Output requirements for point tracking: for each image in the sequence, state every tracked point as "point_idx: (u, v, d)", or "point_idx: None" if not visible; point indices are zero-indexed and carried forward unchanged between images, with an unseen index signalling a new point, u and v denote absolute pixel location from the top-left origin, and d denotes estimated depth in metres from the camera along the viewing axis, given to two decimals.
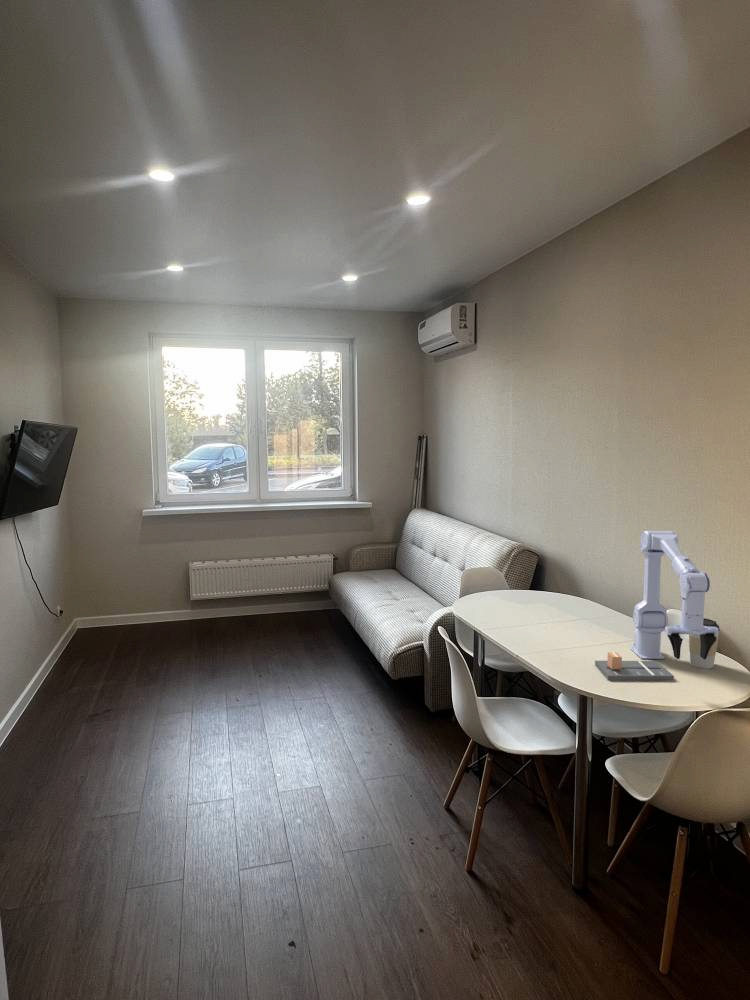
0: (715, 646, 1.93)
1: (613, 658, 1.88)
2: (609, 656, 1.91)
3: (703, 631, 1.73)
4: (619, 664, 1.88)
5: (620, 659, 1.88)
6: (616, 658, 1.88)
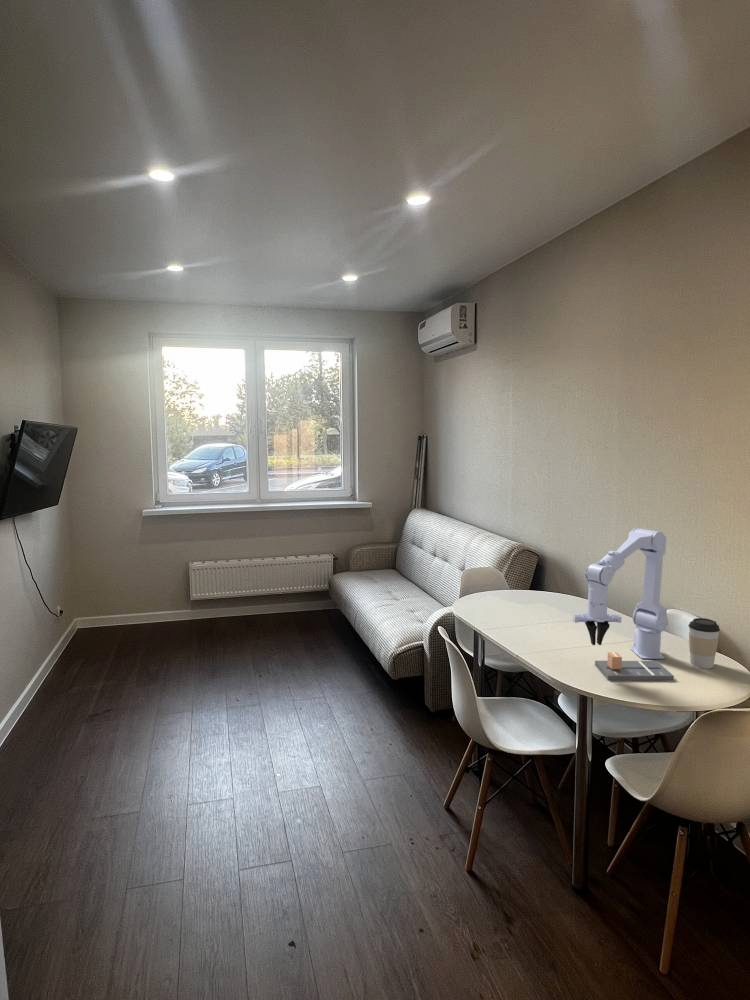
0: (715, 646, 1.93)
1: (613, 658, 1.88)
2: (609, 656, 1.91)
3: (606, 619, 1.86)
4: (619, 664, 1.88)
5: (620, 659, 1.88)
6: (616, 658, 1.88)
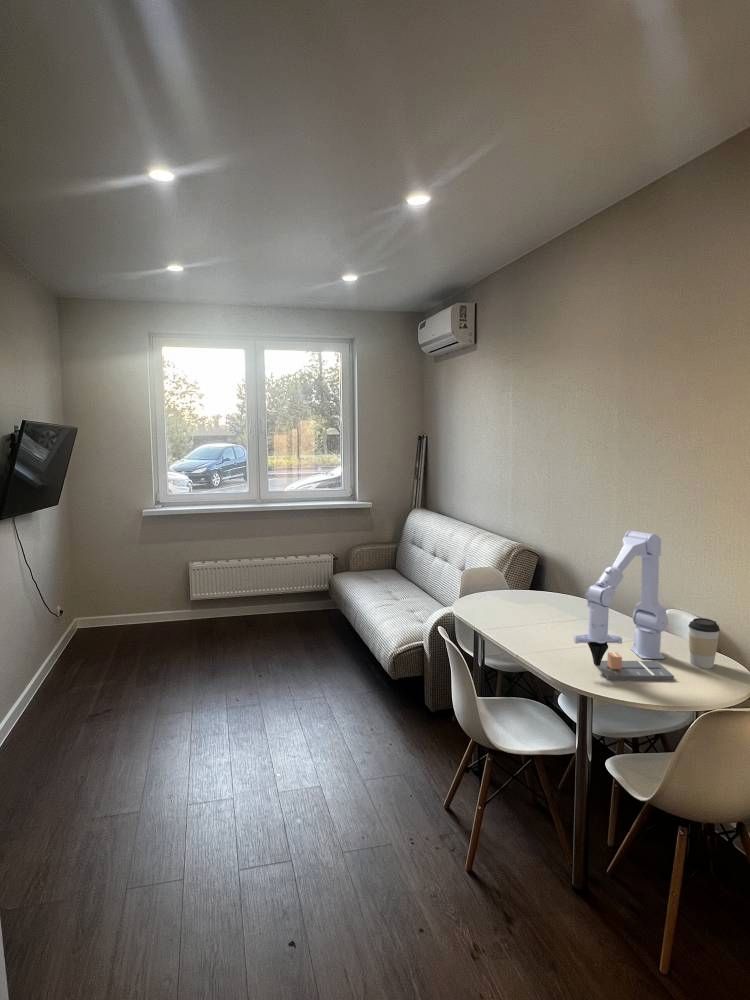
0: (715, 646, 1.93)
1: (613, 658, 1.88)
2: (609, 656, 1.91)
3: (607, 640, 1.87)
4: (619, 664, 1.88)
5: (620, 659, 1.88)
6: (616, 658, 1.88)
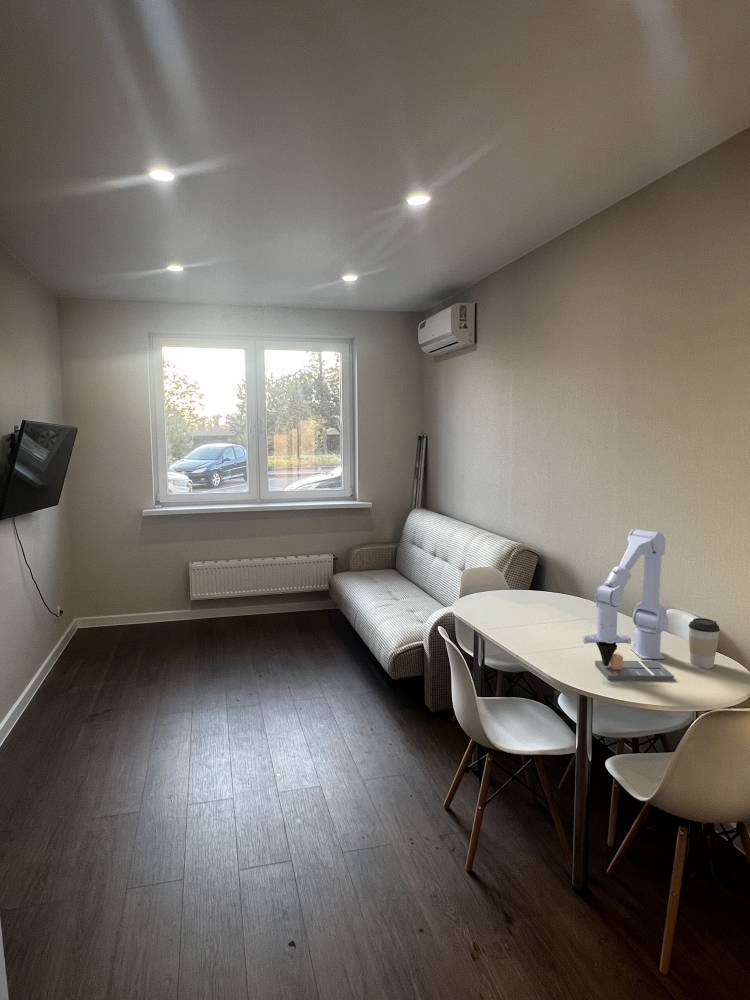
0: (715, 646, 1.93)
1: (614, 658, 1.88)
2: None
3: (616, 640, 1.87)
4: (620, 664, 1.88)
5: (622, 659, 1.88)
6: (617, 658, 1.88)
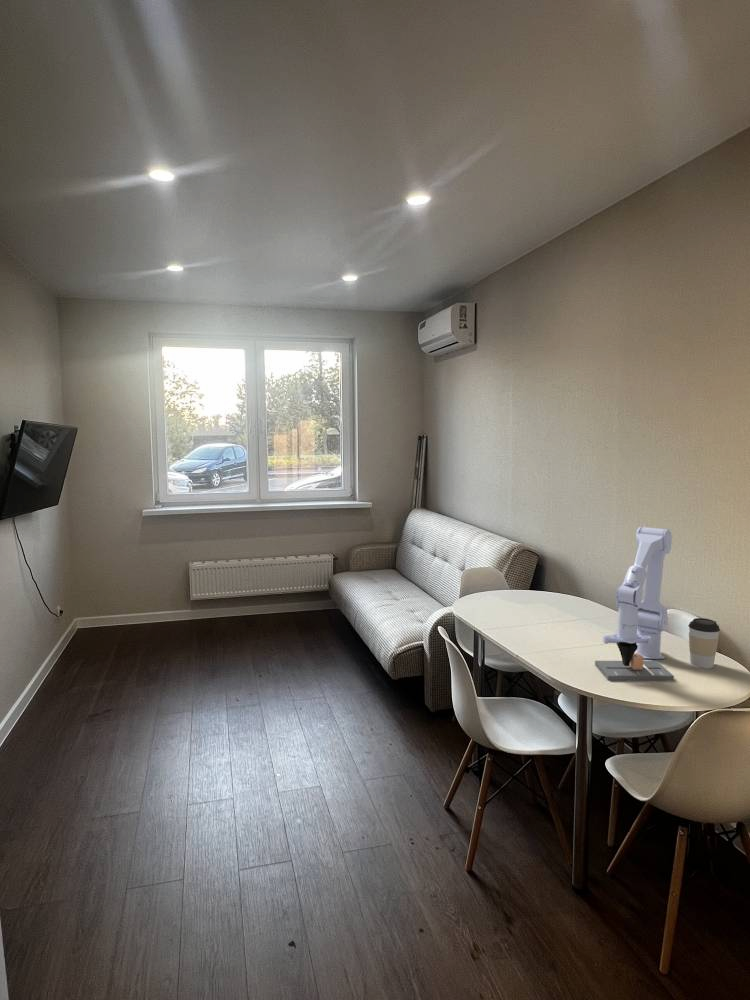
0: (715, 646, 1.93)
1: (635, 658, 1.88)
2: None
3: (637, 640, 1.87)
4: (641, 664, 1.88)
5: (642, 659, 1.88)
6: (638, 658, 1.88)
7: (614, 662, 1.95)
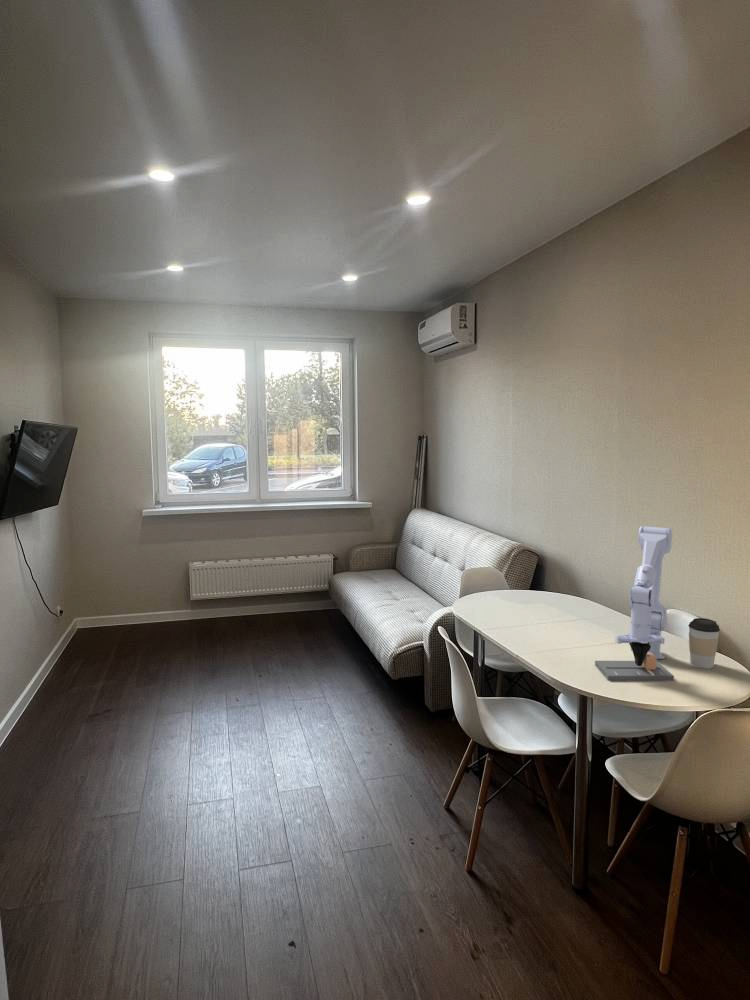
0: (715, 646, 1.93)
1: (648, 658, 1.88)
2: None
3: (650, 640, 1.87)
4: (654, 664, 1.88)
5: (655, 659, 1.88)
6: (651, 658, 1.88)
7: (614, 662, 1.95)
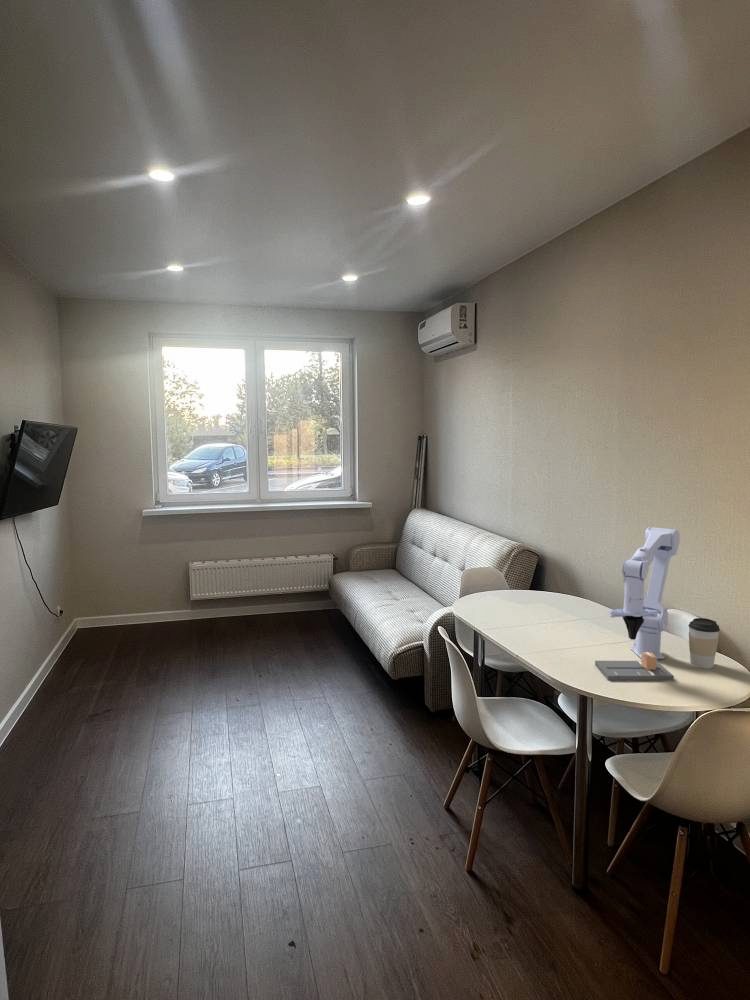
0: (715, 646, 1.93)
1: (648, 658, 1.88)
2: (643, 656, 1.90)
3: (643, 614, 1.89)
4: (654, 664, 1.88)
5: (655, 659, 1.88)
6: (651, 658, 1.88)
7: (614, 662, 1.95)
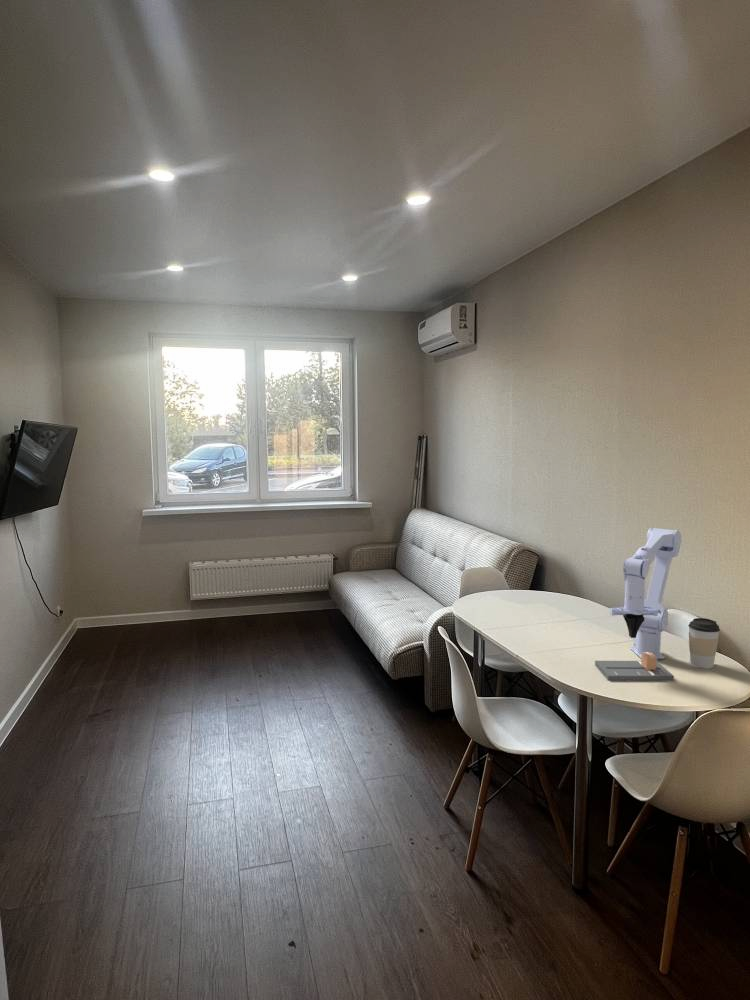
0: (715, 646, 1.93)
1: (648, 658, 1.88)
2: (643, 656, 1.90)
3: (643, 612, 1.90)
4: (654, 664, 1.88)
5: (655, 659, 1.88)
6: (651, 658, 1.88)
7: (614, 662, 1.95)
